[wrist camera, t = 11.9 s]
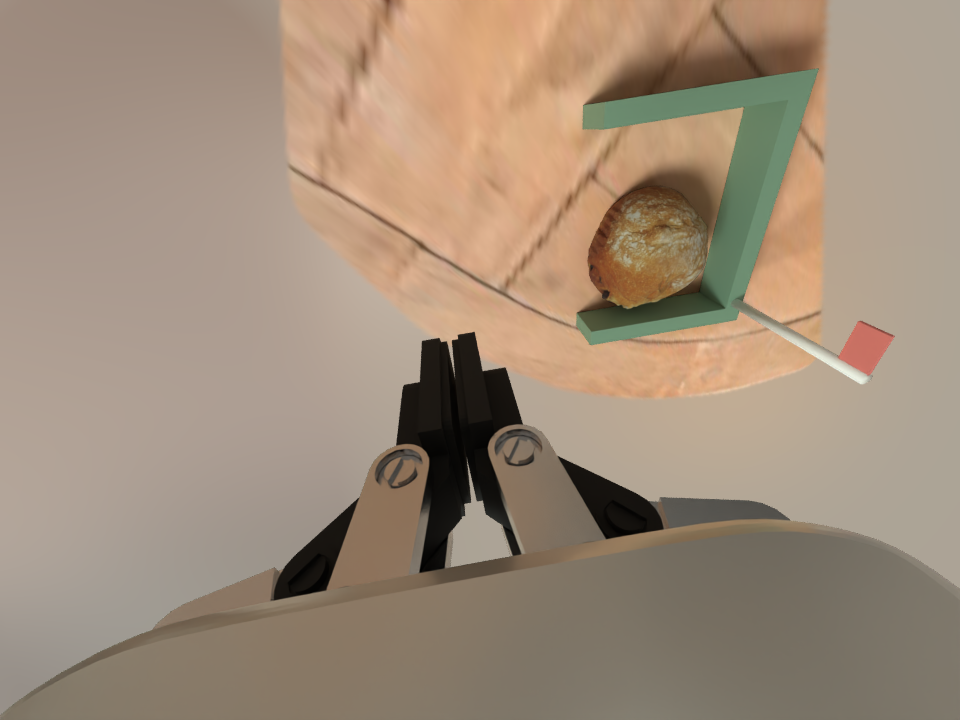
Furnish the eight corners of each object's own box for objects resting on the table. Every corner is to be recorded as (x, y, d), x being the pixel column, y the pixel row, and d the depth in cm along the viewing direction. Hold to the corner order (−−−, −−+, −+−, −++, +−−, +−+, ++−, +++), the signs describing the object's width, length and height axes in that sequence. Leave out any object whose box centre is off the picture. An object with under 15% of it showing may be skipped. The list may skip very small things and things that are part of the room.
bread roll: (672, 235, 36) (753, 221, 29) (628, 323, 37) (697, 332, 29) (606, 179, 33) (680, 146, 25) (558, 278, 33) (617, 274, 26)
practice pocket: (583, 105, 26) (737, 84, 13) (770, 75, 26) (1108, 25, 13) (576, 325, 37) (656, 436, 24) (709, 302, 37) (862, 400, 24)
